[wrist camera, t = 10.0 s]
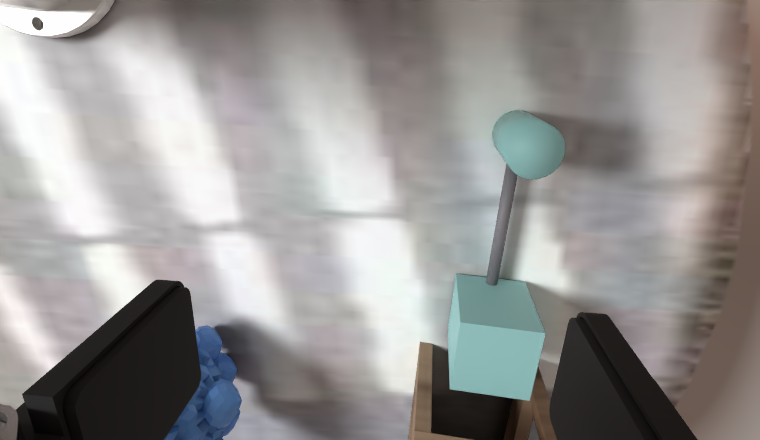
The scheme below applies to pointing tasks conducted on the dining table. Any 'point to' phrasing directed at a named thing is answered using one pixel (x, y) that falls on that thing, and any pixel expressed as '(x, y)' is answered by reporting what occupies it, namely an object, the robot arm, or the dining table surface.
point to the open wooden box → (518, 416)
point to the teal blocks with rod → (502, 281)
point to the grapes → (210, 394)
